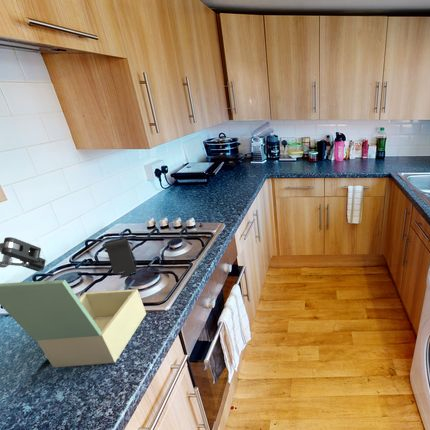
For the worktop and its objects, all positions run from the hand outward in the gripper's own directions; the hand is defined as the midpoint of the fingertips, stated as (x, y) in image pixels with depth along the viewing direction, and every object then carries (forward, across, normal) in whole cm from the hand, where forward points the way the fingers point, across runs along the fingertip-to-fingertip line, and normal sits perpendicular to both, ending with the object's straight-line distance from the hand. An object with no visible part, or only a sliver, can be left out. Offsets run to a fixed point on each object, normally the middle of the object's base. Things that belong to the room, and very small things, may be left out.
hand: (14, 270), depth 52 cm
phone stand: (+48, +4, -14) cm, 51 cm away
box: (+29, -1, +10) cm, 31 cm away
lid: (+10, 0, +6) cm, 11 cm away
